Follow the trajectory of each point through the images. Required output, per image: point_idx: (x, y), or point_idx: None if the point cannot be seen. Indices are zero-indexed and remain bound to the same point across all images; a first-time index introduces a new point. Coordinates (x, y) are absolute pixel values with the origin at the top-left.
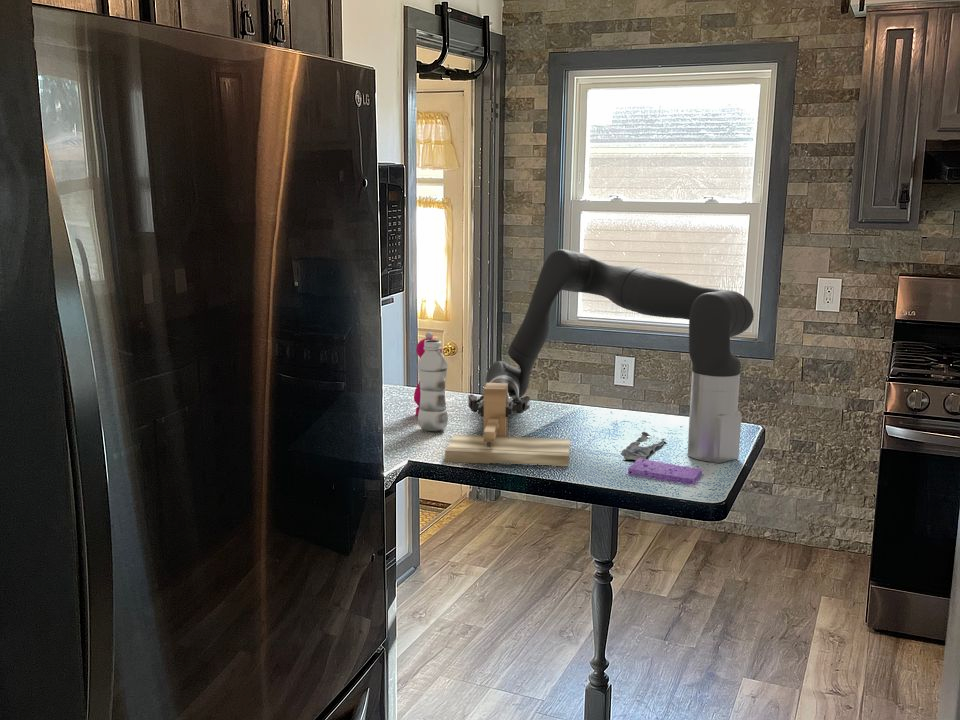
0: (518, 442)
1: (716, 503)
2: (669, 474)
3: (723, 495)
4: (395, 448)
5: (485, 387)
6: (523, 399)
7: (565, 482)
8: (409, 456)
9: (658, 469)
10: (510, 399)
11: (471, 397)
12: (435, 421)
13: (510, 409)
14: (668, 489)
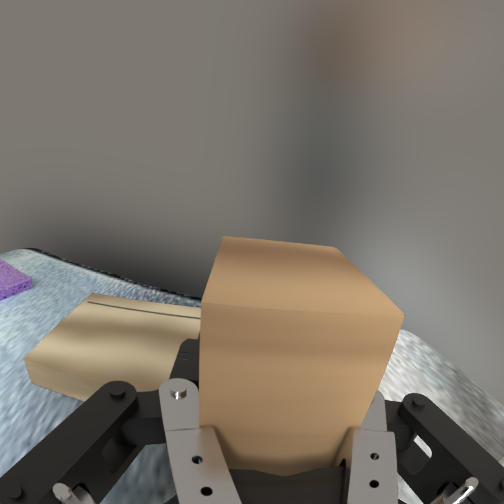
0: (173, 357)
1: (23, 248)
2: (7, 265)
3: (2, 254)
4: (460, 374)
5: (338, 254)
6: (69, 437)
7: (129, 281)
8: (407, 349)
9: (2, 273)
10: (176, 429)
11: (470, 445)
12: (500, 459)
13: (191, 342)
14: (30, 263)
